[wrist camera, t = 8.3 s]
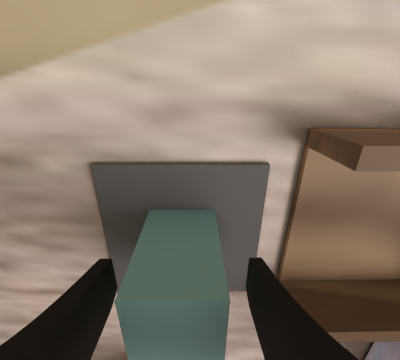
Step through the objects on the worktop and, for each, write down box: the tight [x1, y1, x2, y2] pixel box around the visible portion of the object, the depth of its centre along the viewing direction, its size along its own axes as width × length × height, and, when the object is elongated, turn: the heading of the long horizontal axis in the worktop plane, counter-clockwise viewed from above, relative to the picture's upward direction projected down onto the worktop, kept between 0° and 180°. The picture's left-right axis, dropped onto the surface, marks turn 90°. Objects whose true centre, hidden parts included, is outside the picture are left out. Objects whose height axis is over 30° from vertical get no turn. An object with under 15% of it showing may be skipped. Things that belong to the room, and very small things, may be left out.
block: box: [115, 210, 230, 360], centre depth 11 cm, size 4×4×6 cm
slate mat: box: [90, 163, 270, 293], centre depth 14 cm, size 10×10×1 cm
